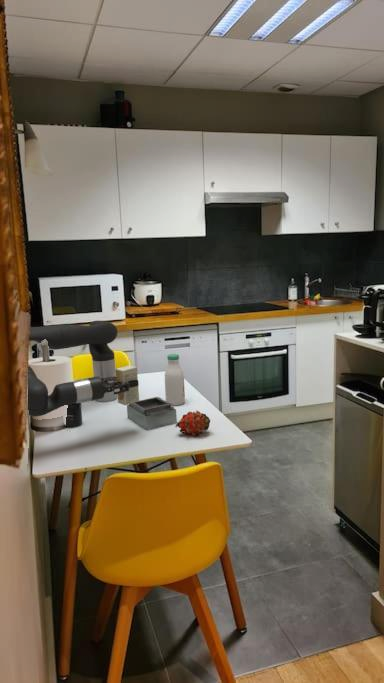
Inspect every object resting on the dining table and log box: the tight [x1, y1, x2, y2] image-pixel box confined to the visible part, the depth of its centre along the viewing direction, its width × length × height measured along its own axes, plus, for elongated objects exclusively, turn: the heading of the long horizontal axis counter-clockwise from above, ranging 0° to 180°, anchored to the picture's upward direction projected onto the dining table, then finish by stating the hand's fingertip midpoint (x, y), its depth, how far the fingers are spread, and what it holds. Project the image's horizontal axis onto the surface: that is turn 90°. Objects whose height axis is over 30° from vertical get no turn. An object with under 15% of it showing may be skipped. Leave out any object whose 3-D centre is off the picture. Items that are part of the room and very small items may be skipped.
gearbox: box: [126, 396, 178, 431], centre depth 183 cm, size 16×12×6 cm
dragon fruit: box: [175, 410, 211, 437], centre depth 168 cm, size 8×8×12 cm
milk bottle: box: [164, 353, 186, 407], centre depth 200 cm, size 8×8×20 cm
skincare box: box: [115, 364, 140, 406], centre depth 169 cm, size 6×4×12 cm
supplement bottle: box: [66, 403, 83, 428], centre depth 181 cm, size 7×7×12 cm
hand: (134, 381), depth 171 cm, fingers closed on skincare box, 5 cm apart
